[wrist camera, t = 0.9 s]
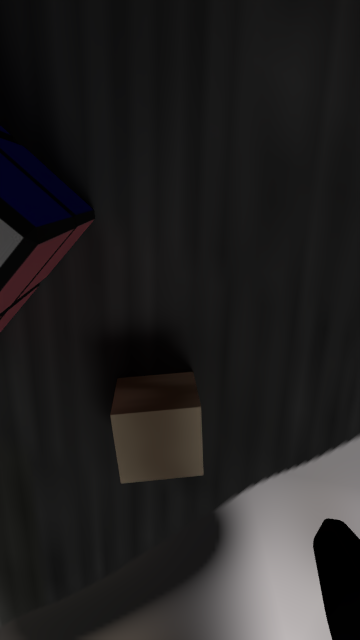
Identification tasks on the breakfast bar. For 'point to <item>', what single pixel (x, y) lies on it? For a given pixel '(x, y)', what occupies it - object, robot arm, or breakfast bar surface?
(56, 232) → the puzzle cube
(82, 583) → the breakfast bar surface
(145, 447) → the oak block
